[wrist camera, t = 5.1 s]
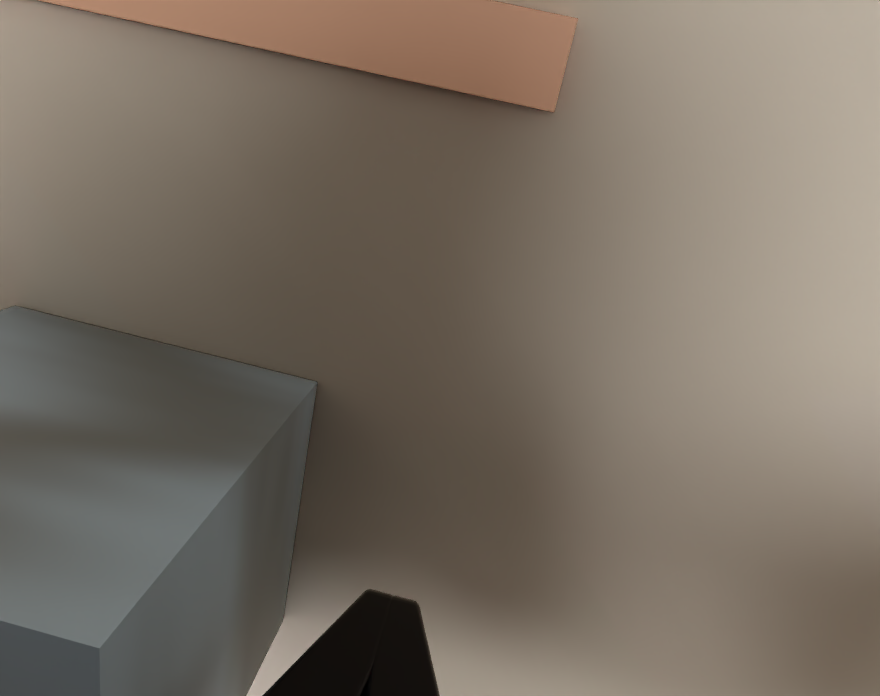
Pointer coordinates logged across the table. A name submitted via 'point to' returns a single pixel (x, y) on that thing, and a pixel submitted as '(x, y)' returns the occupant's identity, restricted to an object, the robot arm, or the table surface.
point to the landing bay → (386, 38)
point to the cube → (141, 511)
